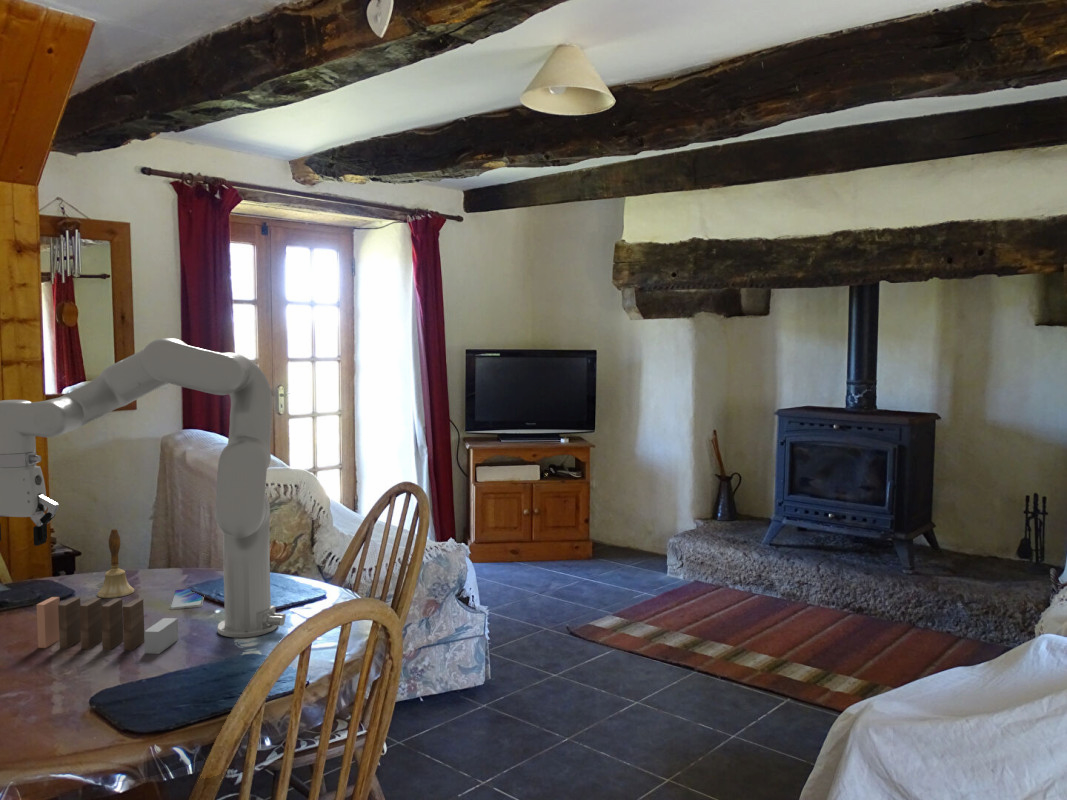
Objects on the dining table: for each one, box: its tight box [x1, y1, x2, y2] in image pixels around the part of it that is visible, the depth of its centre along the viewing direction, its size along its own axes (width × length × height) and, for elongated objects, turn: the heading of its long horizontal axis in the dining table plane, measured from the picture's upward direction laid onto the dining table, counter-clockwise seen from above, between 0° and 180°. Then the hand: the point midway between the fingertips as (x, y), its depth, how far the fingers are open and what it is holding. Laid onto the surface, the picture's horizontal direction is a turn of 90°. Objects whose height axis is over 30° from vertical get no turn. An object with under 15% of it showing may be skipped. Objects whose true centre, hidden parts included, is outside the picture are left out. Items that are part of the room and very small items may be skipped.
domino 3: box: [80, 597, 103, 650], centre depth 175 cm, size 2×5×9 cm, turn 177°
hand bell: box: [96, 528, 135, 599], centre depth 209 cm, size 8×8×16 cm
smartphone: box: [168, 587, 205, 611], centre depth 206 cm, size 7×1×15 cm
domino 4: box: [101, 597, 124, 651], centre depth 175 cm, size 2×5×9 cm, turn 177°
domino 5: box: [122, 598, 145, 651], centre depth 175 cm, size 2×5×9 cm, turn 177°
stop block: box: [143, 617, 179, 655], centre depth 174 cm, size 3×8×4 cm, turn 177°
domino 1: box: [36, 596, 61, 649], centre depth 176 cm, size 2×5×9 cm, turn 176°
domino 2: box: [58, 597, 82, 650], centre depth 175 cm, size 2×5×9 cm, turn 177°
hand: (17, 543), depth 175 cm, fingers open, 9 cm apart
